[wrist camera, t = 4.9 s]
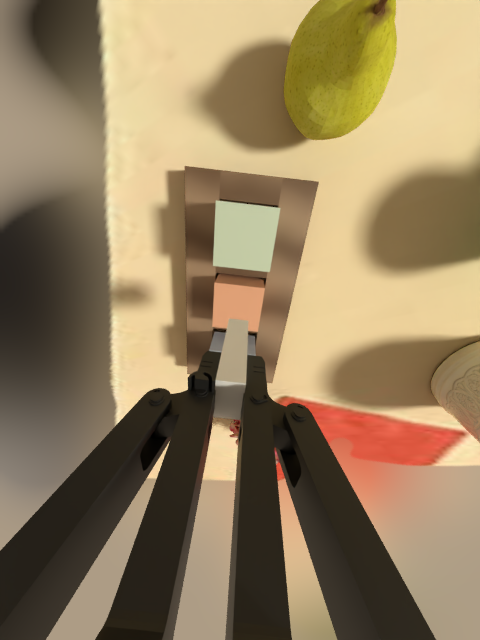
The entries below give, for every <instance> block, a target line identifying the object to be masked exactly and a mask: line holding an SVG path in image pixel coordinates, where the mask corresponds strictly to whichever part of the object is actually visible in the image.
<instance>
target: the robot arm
mask: <svg viewBox="0 0 480 640" xmlns="http://www.w3.org/2000/svg"><path fill="white" fill-rule="evenodd" d="M247 346H248V321H247V320H238V319H229V321H228V325H227V330H226V335H225V339H224V344H223V348H222V352H215V351H207V352H206V353H205V354H204V355H203V356H202V359H201V362H200V365H199V368H198V371H195V372H193V373H192V374H190V376H189V377H188V390H186V391H184V392H181V393H176V394H170V392H169V391H168V390H166V389H162V388H157V389H153V390H151V391H149V392H147V393H146V394H145V395H144V396H143V397H142V398H141V399H140V400H139V401H138V402H137V404H136V405H135V406H134V407H133V408H132V409H131V410H130V411H129V412H128V413H127V414H126V415H125V417H124V418H123V419H122V420H121V421H120V422H119V423H118V424H117V425H116V426H115V427H114V428H113V429H112V431H111V432H110V433H109V434H108V435H107V436H106V437H105V438H104V439H103V440H102V441H101V443H100V444H99V445H98V446H97V447H96V448H95V449H94V450H93V451H92V452H91V453H90V455H89V456H88V457H87V458H86V459H85V460H84V461H83V462H82V463H81V464H80V465H79V466H78V467H77V468H76V470H75V471H74V472H73V473H72V474H71V475H70V476H69V477H68V478H67V479H66V480H65V481H64V483H63V484H62V485H61V486H60V487H59V488H58V489H57V490H56V491H55V492H54V493H53V494H52V496H51V497H50V498H49V499H48V500H47V501H46V502H45V503H44V504H43V505H42V506H41V507H40V509H39V510H38V511H37V512H36V513H35V514H34V515H33V516H32V517H31V518H30V519H29V520H28V522H27V523H26V524H25V525H24V526H23V527H22V528H21V529H20V530H19V531H18V532H17V533H16V534H15V536H14V537H13V538H12V539H11V540H10V541H9V542H8V543H7V544H6V545H5V547H3V549H2V550H1V551H0V640H46V638H47V637H48V635H49V634H50V632H51V630H52V629H53V627H54V626H55V624H56V622H57V621H58V619H59V618H60V616H61V614H62V613H63V611H64V610H65V608H66V606H67V605H68V603H69V602H70V600H71V598H72V597H73V595H74V594H75V592H76V590H77V589H78V587H79V585H80V583H81V582H82V580H83V579H84V578H85V576H86V574H87V573H88V571H89V569H90V568H91V566H92V564H93V563H94V561H95V560H96V558H97V557H98V555H99V553H100V552H101V550H102V549H103V547H104V545H105V544H106V542H107V541H108V539H109V537H110V536H111V534H112V533H113V531H114V529H115V528H116V526H117V524H118V523H119V521H120V520H121V518H122V517H123V515H124V513H125V512H126V510H127V508H128V507H129V505H130V504H131V502H132V500H133V499H134V497H135V496H136V494H137V492H138V491H139V489H140V488H141V486H142V484H143V483H144V481H145V480H146V478H147V476H148V475H149V473H150V472H151V470H152V468H153V467H154V465H155V464H156V462H157V460H158V459H159V457H160V456H161V454H162V452H163V451H164V449H165V448H166V446H167V444H168V443H169V441H170V443H169V446H168V449H167V451H166V454H165V457H164V460H163V463H162V466H161V468H160V471H159V474H158V477H157V480H156V483H155V485H154V488H153V491H152V494H151V497H150V500H149V502H148V505H147V508H146V511H145V514H144V517H143V519H142V522H141V525H140V528H139V531H138V534H137V537H136V539H135V542H134V545H133V548H132V551H131V553H130V556H129V559H128V562H127V565H126V568H125V571H124V574H123V576H122V579H121V582H120V585H119V588H118V590H117V593H116V596H115V599H114V602H113V604H112V607H111V610H110V612H109V615H108V618H107V620H106V622H105V624H104V626H103V628H102V629H101V631H100V632H99V634H98V636H97V637H96V639H95V640H173V636H174V630H175V624H176V619H177V614H178V608H179V603H180V597H181V592H182V587H183V581H184V576H185V570H186V564H187V559H188V554H189V548H190V543H191V538H192V532H193V527H194V522H195V516H196V510H197V505H198V500H199V494H200V489H201V483H202V478H203V473H204V467H205V462H206V456H207V451H208V446H209V440H210V435H211V429H212V420H213V417H217V418H226V419H235V420H240V427H239V433H238V454H237V469H236V486H235V500H234V515H233V516H234V517H233V532H232V547H231V562H230V563H231V564H230V577H229V592H228V593H229V594H228V608H227V624H226V639H225V640H292V637H291V629H290V617H289V606H288V595H287V583H286V572H285V561H284V550H283V538H282V526H281V515H280V504H279V494H278V493H279V492H278V481H277V470H276V458H275V448H276V452H277V455H278V458H279V461H280V464H281V467H282V470H283V473H284V476H285V479H286V482H287V486H288V488H289V492H290V495H291V498H292V501H293V504H294V507H295V510H296V513H297V516H298V520H299V522H300V525H301V529H302V532H303V535H304V538H305V541H306V544H307V547H308V550H309V553H310V556H311V559H312V562H313V566H314V569H315V572H316V575H317V578H318V581H319V584H320V587H321V590H322V593H323V596H324V600H325V603H326V606H327V609H328V612H329V615H330V618H331V621H332V624H333V627H334V630H335V633H336V636H337V639H338V640H436V639H435V637H434V635H433V633H432V632H431V630H430V628H429V626H428V624H427V623H426V621H425V619H424V617H423V615H422V613H421V612H420V610H419V608H418V606H417V604H416V603H415V601H414V599H413V597H412V595H411V593H410V592H409V590H408V588H407V586H406V584H405V582H404V581H403V579H402V577H401V575H400V573H399V572H398V570H397V568H396V566H395V564H394V562H393V561H392V559H391V557H390V555H389V553H388V552H387V550H386V548H385V546H384V544H383V542H382V541H381V539H380V537H379V535H378V534H377V532H376V530H375V528H374V526H373V524H372V523H371V521H370V519H369V517H368V515H367V513H366V512H365V510H364V508H363V506H362V505H361V502H360V501H359V499H358V497H357V495H356V493H355V492H354V490H353V488H352V486H351V484H350V482H349V481H348V479H347V477H346V475H345V473H344V472H343V470H342V468H341V466H340V464H339V463H338V461H337V459H336V457H335V455H334V453H333V452H332V450H331V448H330V446H329V444H328V442H327V441H326V439H325V437H324V435H323V433H322V432H321V430H320V428H319V426H318V424H317V422H316V421H315V419H314V417H313V415H312V413H311V412H310V411H309V409H307V408H306V407H305V406H303V405H301V404H297V403H292V404H289V405H288V406H287V407H285V406H283V405H280V404H278V403H276V402H274V401H273V400H272V399H271V398H270V397H269V395H268V392H267V381H266V369H265V361H264V360H263V358H262V357H261V356H254V355H247Z"/></svg>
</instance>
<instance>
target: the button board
mask: <svg viewBox="0 0 480 640" xmlns="http://www.w3.org/2000/svg"><path fill="white" fill-rule="evenodd" d="M318 183H319V182H315V181H306V180H298V179H290V178H281V177H273V176H264V175H256V174H247V173H239V172H230V171H222V170H214V169H205V168H197V167H188V166H185V221H186V298H187V374H192V373H193V372H195V371H198V368H199V365H200V362H201V359H202V356H203V355H204V354H205V353H206V352H207V351H209V349H210V346H211V342H212V339H213V335H214V330H215V329H223V330H227V328H218V327H212V322H213V302H214V283H215V281H216V279H217V276H218V273H224V274H233V275H242V276H251V277H260V278H265V279H264V286H265V291H264V297H263V303H262V309H261V316H260V322H259V328H258V332H254V331H248V332H250V333H256V335H255V352H256V356H261V357H262V358H263V360H264V361H265V369H266V381H267V383H272V382H273V378H274V373H275V369H276V365H277V360H278V356H279V352H280V347H281V343H282V339H283V334H284V330H285V326H286V321H287V317H288V313H289V308H290V304H291V300H292V295H293V291H294V287H295V282H296V278H297V274H298V269H299V265H300V261H301V256H302V252H303V248H304V243H305V239H306V235H307V230H308V226H309V222H310V217H311V213H312V209H313V204H314V200H315V196H316V191H317V187H318ZM216 200H217V201H222V200H227V201H236V202H244V203H253V204H261V205H270V206H276V207H277V208H280V214H279V220H278V226H277V232H276V238H275V244H274V250H273V256H272V262H271V268H270V272H263V271H254V270H246V269H237V268H228V267H219V266H213V252H214V230H215V208H216Z"/></svg>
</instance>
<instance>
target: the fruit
mask: <svg viewBox="0 0 480 640" xmlns="http://www.w3.org/2000/svg"><path fill="white" fill-rule="evenodd" d="M395 14H396V0H320V1H319V2H317V3H316V4H315V5H314V6H313V7H312V9H311V10H310V11H309V13H308V14H307V15H306V17H305V18H304V19H303V21H302V22H301V24H300V25H299V27H298V29H297V32H296V34H295V36H294V38H293V40H292V43H291V47H290V51H289V55H288V61H287V66H286V73H285V81H284V99H285V105H286V108H287V111H288V113H289V115H290V117H291V119H292V121H293V123H294V124H295V126H296V127H297V129H298V130H299V132H301V133H302V134H303V135H304V136H305V137H306V138H309V139H312V140H325V139H332V138H337V137H341V136H343V135H345V134H348V133H349V132H351V131H352V130H354V129H355V128H357V127H358V126H359V125H360V124H361V123H363V122H364V121H365V120H366V119H367V118H368V117H369V116H370V115H371V114H372V113H373V111H374V110H375V108H376V106H377V105H378V103H379V101H380V99H381V97H382V95H383V93H384V91H385V88H386V86H387V83H388V81H389V78H390V75H391V72H392V69H393V65H394V60H395V55H396V42H397V37H396V29H395V22H394V21H395Z"/></svg>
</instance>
